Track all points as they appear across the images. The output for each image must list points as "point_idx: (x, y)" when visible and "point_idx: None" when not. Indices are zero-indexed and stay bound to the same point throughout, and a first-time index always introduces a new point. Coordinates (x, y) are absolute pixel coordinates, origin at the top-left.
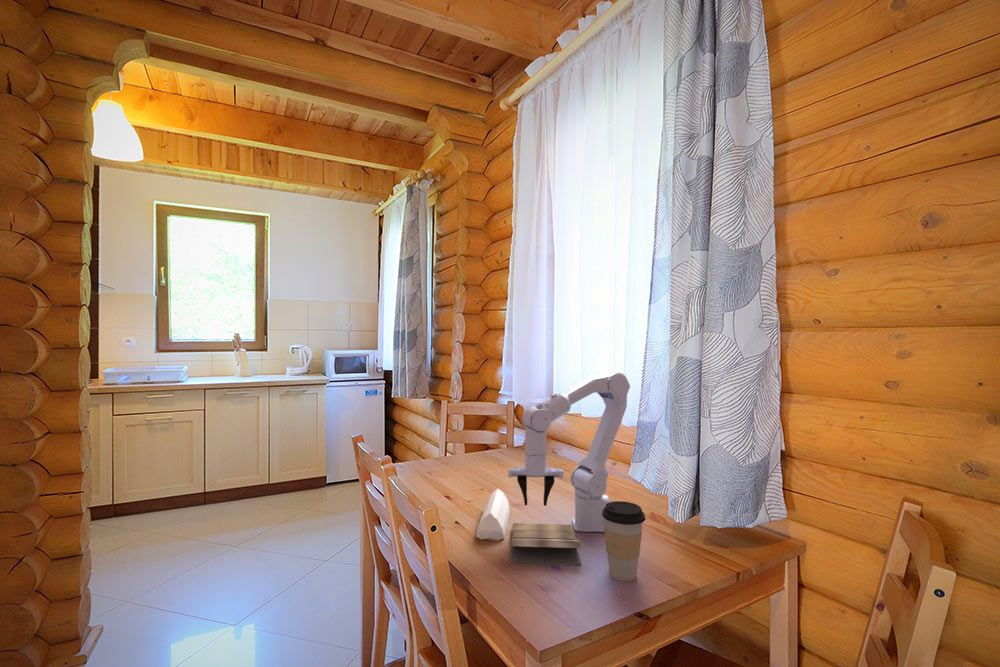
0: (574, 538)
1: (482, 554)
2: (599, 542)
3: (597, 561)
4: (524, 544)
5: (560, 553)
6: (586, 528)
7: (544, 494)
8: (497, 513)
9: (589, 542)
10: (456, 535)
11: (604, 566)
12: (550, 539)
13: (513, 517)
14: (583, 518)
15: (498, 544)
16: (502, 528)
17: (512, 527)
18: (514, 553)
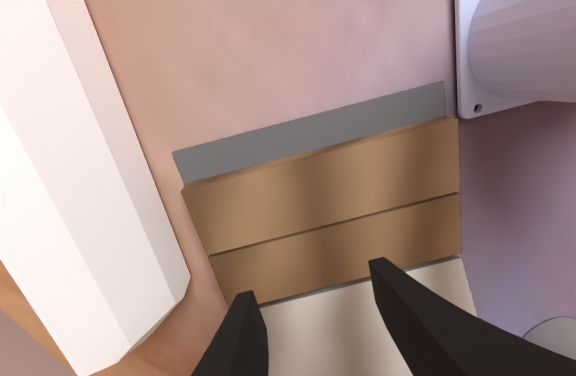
0: (458, 249)
1: (170, 369)
2: (535, 184)
3: (500, 305)
4: None
5: None
6: (516, 99)
7: (411, 351)
8: (99, 299)
9: (498, 195)
10: (4, 294)
11: (513, 322)
12: (374, 306)
13: (127, 24)
14: (544, 98)
15: (187, 305)
16: (172, 301)
17: (180, 171)
18: None
